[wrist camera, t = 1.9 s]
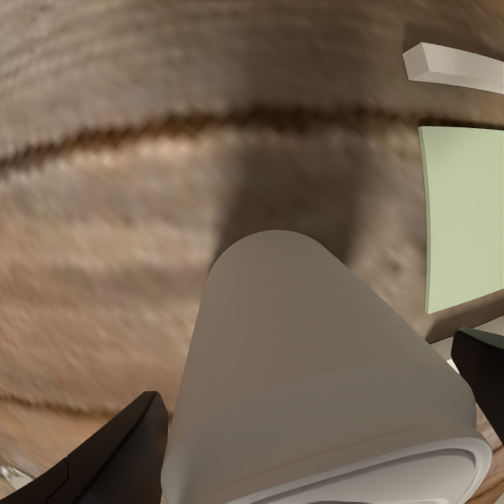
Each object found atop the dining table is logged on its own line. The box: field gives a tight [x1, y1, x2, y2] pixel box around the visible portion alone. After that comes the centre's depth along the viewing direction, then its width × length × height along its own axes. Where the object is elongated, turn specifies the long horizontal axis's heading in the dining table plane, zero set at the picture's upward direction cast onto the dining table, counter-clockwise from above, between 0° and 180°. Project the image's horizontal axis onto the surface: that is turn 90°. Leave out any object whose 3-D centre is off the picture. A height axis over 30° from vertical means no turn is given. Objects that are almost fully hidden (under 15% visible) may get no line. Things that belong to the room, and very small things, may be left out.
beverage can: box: [161, 230, 493, 504], centre depth 9 cm, size 6×6×12 cm
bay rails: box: [402, 42, 504, 374], centre depth 13 cm, size 18×10×2 cm, turn 9°
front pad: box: [418, 126, 504, 314], centre depth 14 cm, size 10×10×1 cm
